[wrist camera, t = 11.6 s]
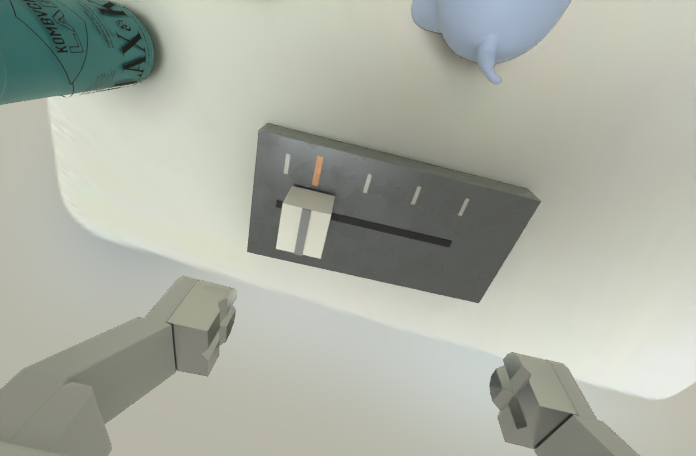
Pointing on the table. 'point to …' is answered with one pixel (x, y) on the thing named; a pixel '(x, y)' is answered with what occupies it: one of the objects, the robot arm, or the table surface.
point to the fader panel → (389, 214)
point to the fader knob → (304, 222)
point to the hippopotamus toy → (489, 27)
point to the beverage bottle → (69, 48)
